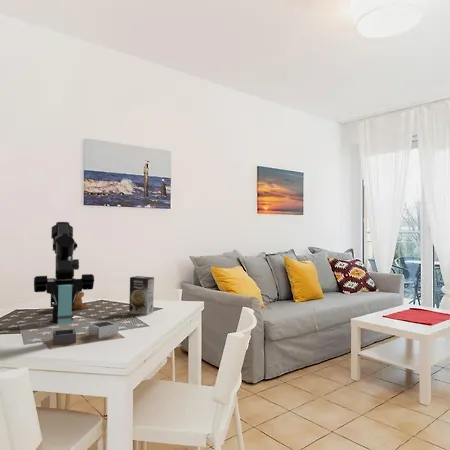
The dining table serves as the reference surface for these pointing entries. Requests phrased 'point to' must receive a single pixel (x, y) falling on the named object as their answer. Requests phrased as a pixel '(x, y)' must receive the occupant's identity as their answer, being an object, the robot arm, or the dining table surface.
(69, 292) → the plug
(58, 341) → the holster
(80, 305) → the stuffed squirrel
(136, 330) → the dining table surface
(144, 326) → the dining table surface
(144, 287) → the coffee box
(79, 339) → the panel board
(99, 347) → the dining table surface
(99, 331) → the port
